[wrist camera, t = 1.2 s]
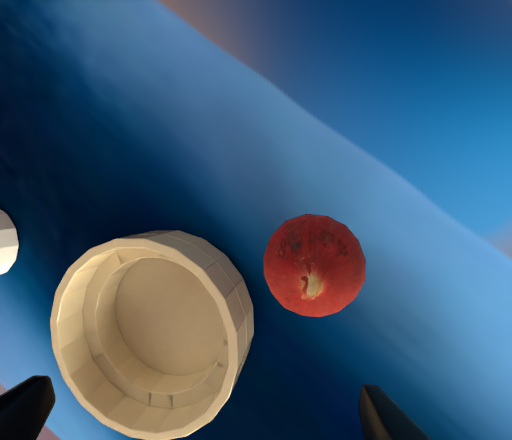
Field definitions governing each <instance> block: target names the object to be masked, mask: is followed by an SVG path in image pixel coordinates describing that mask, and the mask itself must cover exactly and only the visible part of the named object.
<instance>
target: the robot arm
mask: <svg viewBox="0 0 512 440" xmlns="http://www.w3.org/2000/svg"><path fill="white" fill-rule="evenodd" d="M54 404H55V393H54V389H53V385H52V382H51V379H50V377H49V376H39V375H36V376H32V377H30V378H28V379H27V380H25V381H23V382H22V383H20V384H18V385H17V386H15V387H13V388H12V389H10V390H8V391H7V392H5V393H3V394H2V395H0V440H36V439H37V437H38V435H39V433H40V431H41V429H42V427H43V426H44V424H45V422H46V420H47V418H48V416H49V414H50V412H51V410H52V408H53V406H54ZM359 416H360V421H361V425H362V430H363V434H364V439H365V440H431V439H430V438H429V437H428V436H427V435H426V434H425V433H424V432H423V431H422V430H421V429H420V428H419V427H418V426H417V424H416V423H415V422H414V421H413V420H412V419H411V418H410V417H409V416H408V415H407V414H406V413H405V412H404V411H403V410H402V409H401V408H400V407H399V406H398V405H397V404H396V403H395V402H394V401H393V400H392V399H391V398H390V397H389V396H388V395H387V394H386V393H385V392H384V391H383V390H382V389H381V388H380V387H379V386H377V385H367V384H364V385H362V387H361V393H360V400H359Z"/></svg>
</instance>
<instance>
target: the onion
mask: <svg viewBox="0 0 512 440" xmlns="http://www.w3.org/2000/svg"><path fill="white" fill-rule="evenodd" d="M365 264H366V261H365V257H364V254H363V252H362V249H361V246H360V243H359V241H358V239H357V238H356V237H355V236H354V235H353V233H352V232H351V231H350V230H349V228H348V227H347V226H346V225H344V224H342V223H340V222H338V221H336V220H334V219H332V218H330V217H328V216H321V215H311V214H305V215H302V216H299V217H296V218H293V219H291V220H288V221H286V222H285V223H284V224H283V225H282V226H281V227H280V228H279V229H278V230H277V231H276V232H275V233H274V234H273V235H272V236H271V238H270V240H269V243H268V245H267V248H266V251H265V254H264V276H265V279H266V281H267V283H268V286H269V288H270V290H271V292H272V294H273V295H274V296H275V298H276V299H277V300H278V301H279V302H280V303H281V304H282V306H283V307H284V308H286V309H288V310H290V311H293V312H295V313H297V314H299V315H302V316H314V317H322V316H325V315H329V314H333V313H336V312H339V311H340V310H341V309H343V308H344V307H345V306H346V305H348V304H349V303H350V302H352V301H353V300H354V299H355V298H356V296H357V294H358V293H359V291H360V289H361V287H362V285H363V283H364V281H365Z"/></svg>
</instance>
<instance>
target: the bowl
mask: <svg viewBox="0 0 512 440" xmlns="http://www.w3.org/2000/svg"><path fill="white" fill-rule="evenodd" d="M50 326H51V337H52V348H53V352H54V355H55V357H56V360H57V363H58V366H59V368H60V371H61V374H62V377H63V378H64V380H65V382H66V383H67V385H68V386H69V388H70V389H71V391H72V392H73V394H74V395H75V397H76V398H77V400H78V401H79V403H81V405H82V406H83V407H84V408H85V409H87V410H88V411H89V412H90V413H91V414H92V415H93V416H94V417H96V418H97V419H98V420H99V421H100V422H101V423H102V424H103V423H104V425H106V426H108V427H110V428H112V429H115V430H117V431H119V432H121V433H123V434H125V435H127V436H129V437H133V438H140V439H146V440H168V439H174V438H179V437H184V436H188V435H189V434H191V433H192V432H194V431H196V430H197V429H199V428H201V427H202V426H204V425H205V424H207V423H209V422H210V421H212V419H213V418H214V417H215V415H216V414H217V413H218V411H219V410H220V409H221V407H222V406H223V405H224V403H225V402H226V401H227V399H228V398H229V396H230V394H231V392H232V389H233V387H234V385H235V383H236V380H237V378H238V376H239V374H240V371H241V369H242V367H243V365H244V362H245V360H246V358H247V355H248V351H249V348H250V344H251V341H252V338H253V334H254V322H253V305H252V301H251V299H250V296H249V293H248V290H247V288H246V285H245V282H244V279H243V277H242V276H241V275H240V273H239V272H238V270H237V269H236V268H235V266H234V265H233V264H232V262H231V261H230V260H229V258H228V257H227V256H226V255H225V254H224V253H222V252H221V251H220V250H218V249H217V248H215V247H214V246H213V245H211V244H210V243H209V242H207V241H206V240H205V239H203V238H200V237H197V236H194V235H191V234H188V233H184V232H181V231H151V232H147V233H142V234H137V235H132V236H127V237H122V238H118V239H114V240H111V241H109V242H106V243H104V244H101V245H98V246H96V247H93V248H91V249H89V250H88V251H87V252H86V253H85V254H83V255H82V256H81V257H80V258H79V259H78V260H77V261H76V262H75V263H73V264H72V265H71V266H70V267H69V268H68V270H67V272H66V274H65V275H64V277H63V279H62V281H61V283H60V285H59V286H58V288H57V290H56V293H55V298H54V303H53V308H52V313H51V319H50Z"/></svg>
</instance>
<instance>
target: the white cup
mask: <svg viewBox="0 0 512 440" xmlns="http://www.w3.org/2000/svg"><path fill="white" fill-rule="evenodd" d="M18 247H19V243H18V237H17V232H16V228H15V226H14V224H13V223H12V221H11V219H10V218H9V216H8V214H6V213H5V212H4V211H2V210H1V209H0V275H1V274H3V273H6V272H7V271H8V270H9V269H10V267H11V266H12V265H13V263H14V262H15V261H16V257H17V252H18Z"/></svg>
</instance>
